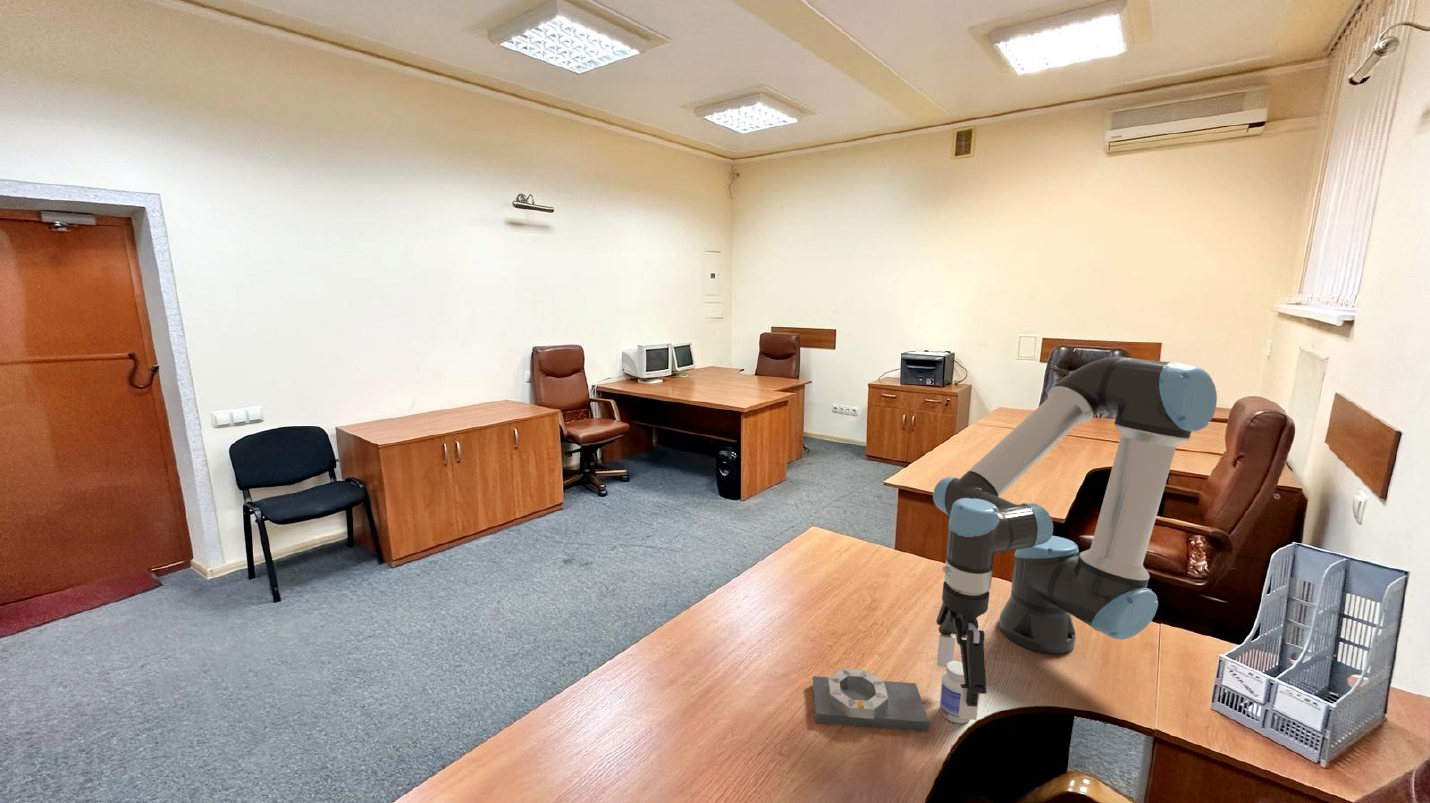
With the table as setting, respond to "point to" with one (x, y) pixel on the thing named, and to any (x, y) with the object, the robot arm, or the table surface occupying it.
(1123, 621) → the robot arm
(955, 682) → the pill bottle
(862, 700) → the hub plate
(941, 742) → the table surface
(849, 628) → the table surface
